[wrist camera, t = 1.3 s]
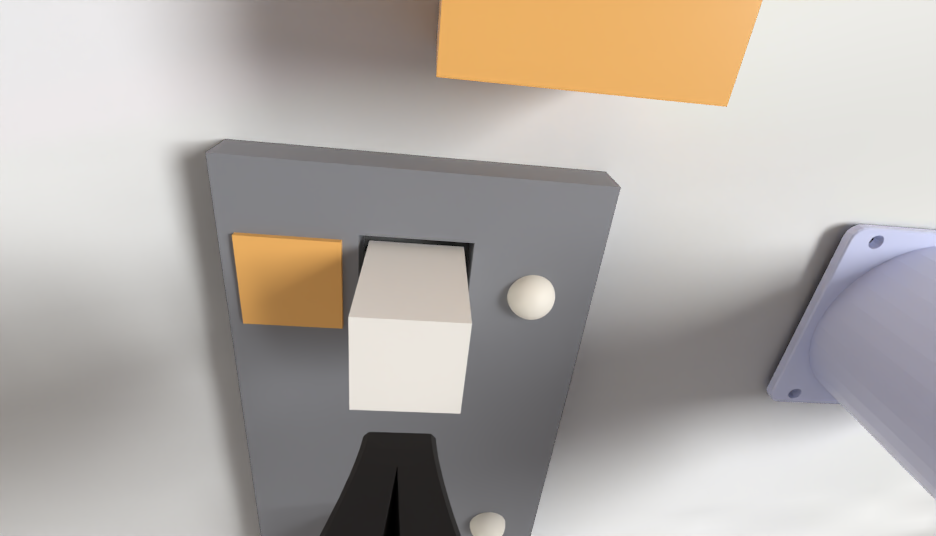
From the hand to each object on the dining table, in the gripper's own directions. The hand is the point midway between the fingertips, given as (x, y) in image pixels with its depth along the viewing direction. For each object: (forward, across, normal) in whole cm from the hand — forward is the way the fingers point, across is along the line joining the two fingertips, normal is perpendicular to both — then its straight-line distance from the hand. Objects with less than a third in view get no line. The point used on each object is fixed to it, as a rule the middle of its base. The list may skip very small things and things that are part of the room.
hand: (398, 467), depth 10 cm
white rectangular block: (+7, 0, 0) cm, 7 cm away
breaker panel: (+9, 0, +6) cm, 10 cm away
